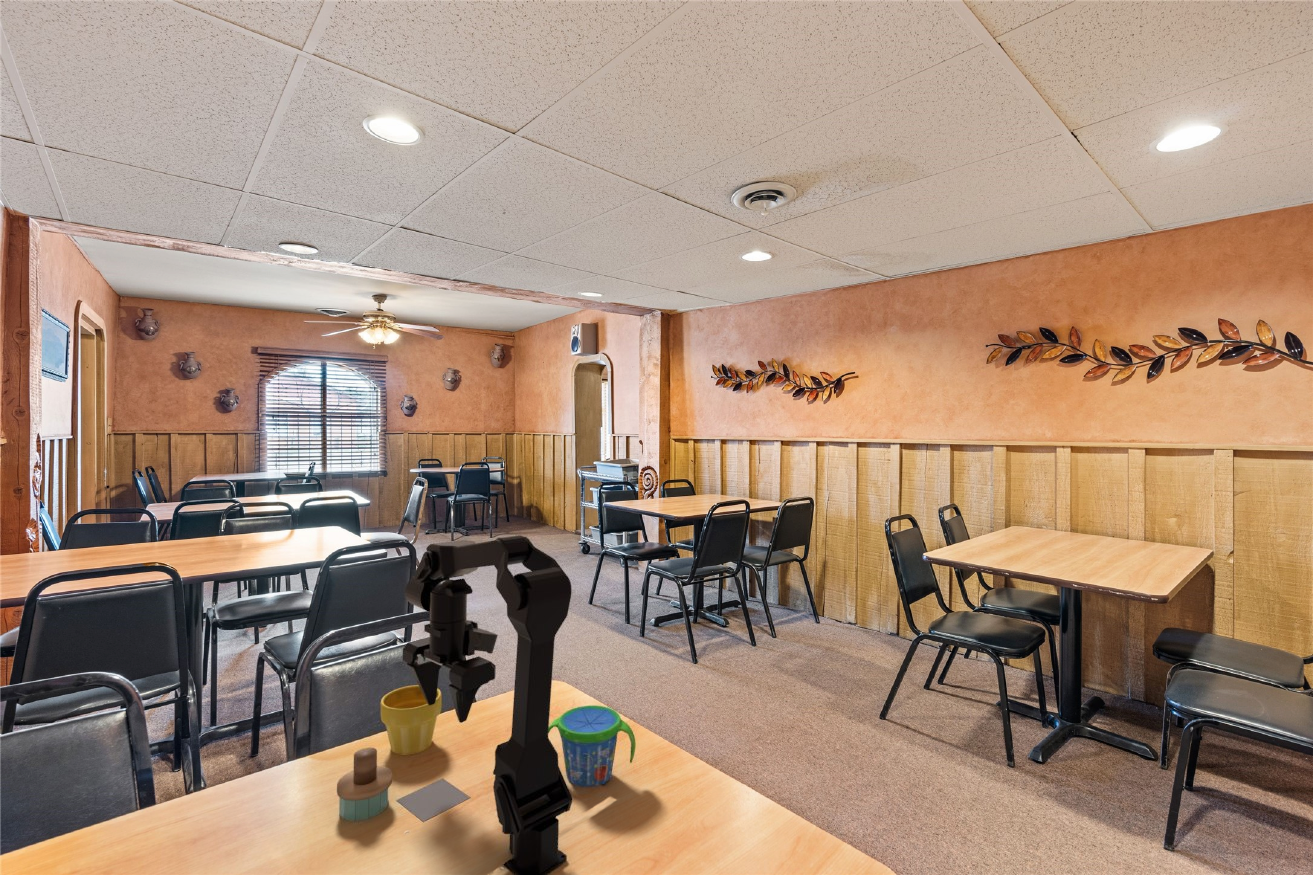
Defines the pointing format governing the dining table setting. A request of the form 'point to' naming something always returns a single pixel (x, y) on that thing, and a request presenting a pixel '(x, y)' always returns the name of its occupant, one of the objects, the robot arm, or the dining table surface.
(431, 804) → the mat
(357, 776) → the lid
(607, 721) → the snack cup
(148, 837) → the dining table surface
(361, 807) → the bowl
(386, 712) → the plant pot
